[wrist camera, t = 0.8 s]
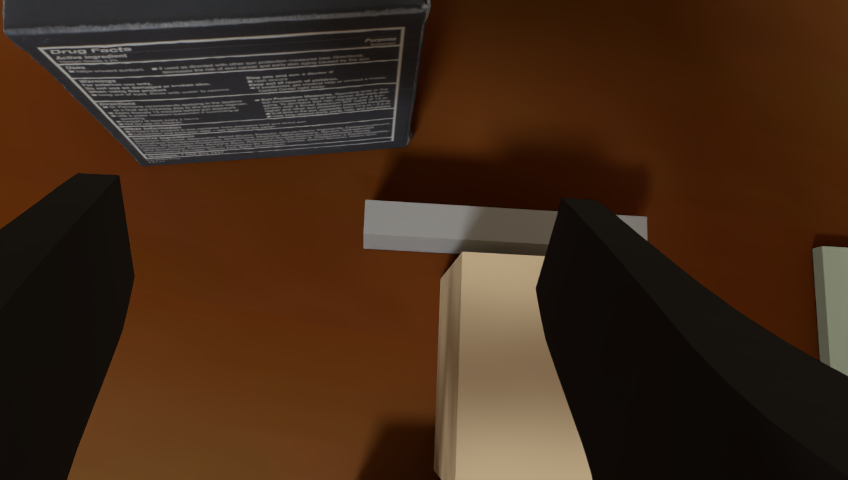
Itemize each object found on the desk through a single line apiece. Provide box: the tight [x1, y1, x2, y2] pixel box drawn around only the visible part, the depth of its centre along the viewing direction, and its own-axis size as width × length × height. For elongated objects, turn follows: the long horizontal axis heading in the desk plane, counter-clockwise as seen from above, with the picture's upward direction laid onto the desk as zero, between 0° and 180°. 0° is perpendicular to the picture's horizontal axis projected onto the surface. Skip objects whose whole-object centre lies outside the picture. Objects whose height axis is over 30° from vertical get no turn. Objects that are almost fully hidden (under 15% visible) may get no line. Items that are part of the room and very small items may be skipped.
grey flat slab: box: [363, 200, 647, 256], centre depth 25 cm, size 11×10×3 cm
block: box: [434, 252, 592, 480], centre depth 24 cm, size 7×4×6 cm, turn 177°
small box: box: [3, 0, 432, 166], centre depth 23 cm, size 11×6×10 cm, turn 96°
